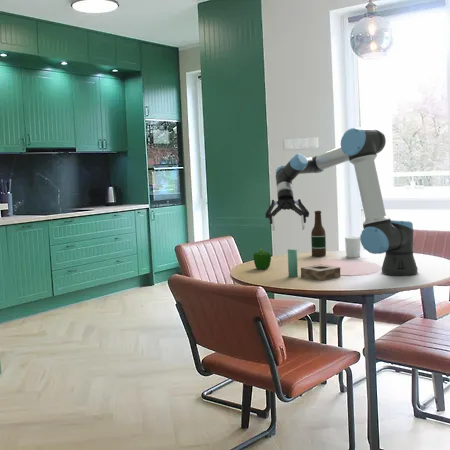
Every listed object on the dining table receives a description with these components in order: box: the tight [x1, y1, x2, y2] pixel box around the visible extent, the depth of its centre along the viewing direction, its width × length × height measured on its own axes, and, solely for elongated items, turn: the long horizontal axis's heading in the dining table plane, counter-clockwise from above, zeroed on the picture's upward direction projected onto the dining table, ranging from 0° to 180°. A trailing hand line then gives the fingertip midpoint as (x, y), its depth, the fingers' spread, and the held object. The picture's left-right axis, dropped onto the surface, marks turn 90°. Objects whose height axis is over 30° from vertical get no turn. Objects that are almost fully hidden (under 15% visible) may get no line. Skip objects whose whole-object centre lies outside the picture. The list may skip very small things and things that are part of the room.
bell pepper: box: [253, 248, 272, 270], centre depth 280 cm, size 8×8×10 cm
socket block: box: [300, 263, 341, 282], centre depth 256 cm, size 12×12×4 cm
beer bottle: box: [310, 210, 327, 258], centre depth 310 cm, size 8×8×24 cm
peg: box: [287, 248, 299, 278], centre depth 258 cm, size 4×4×12 cm
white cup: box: [344, 236, 361, 258], centre depth 304 cm, size 8×8×10 cm
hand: (288, 228), depth 268 cm, fingers open, 13 cm apart
